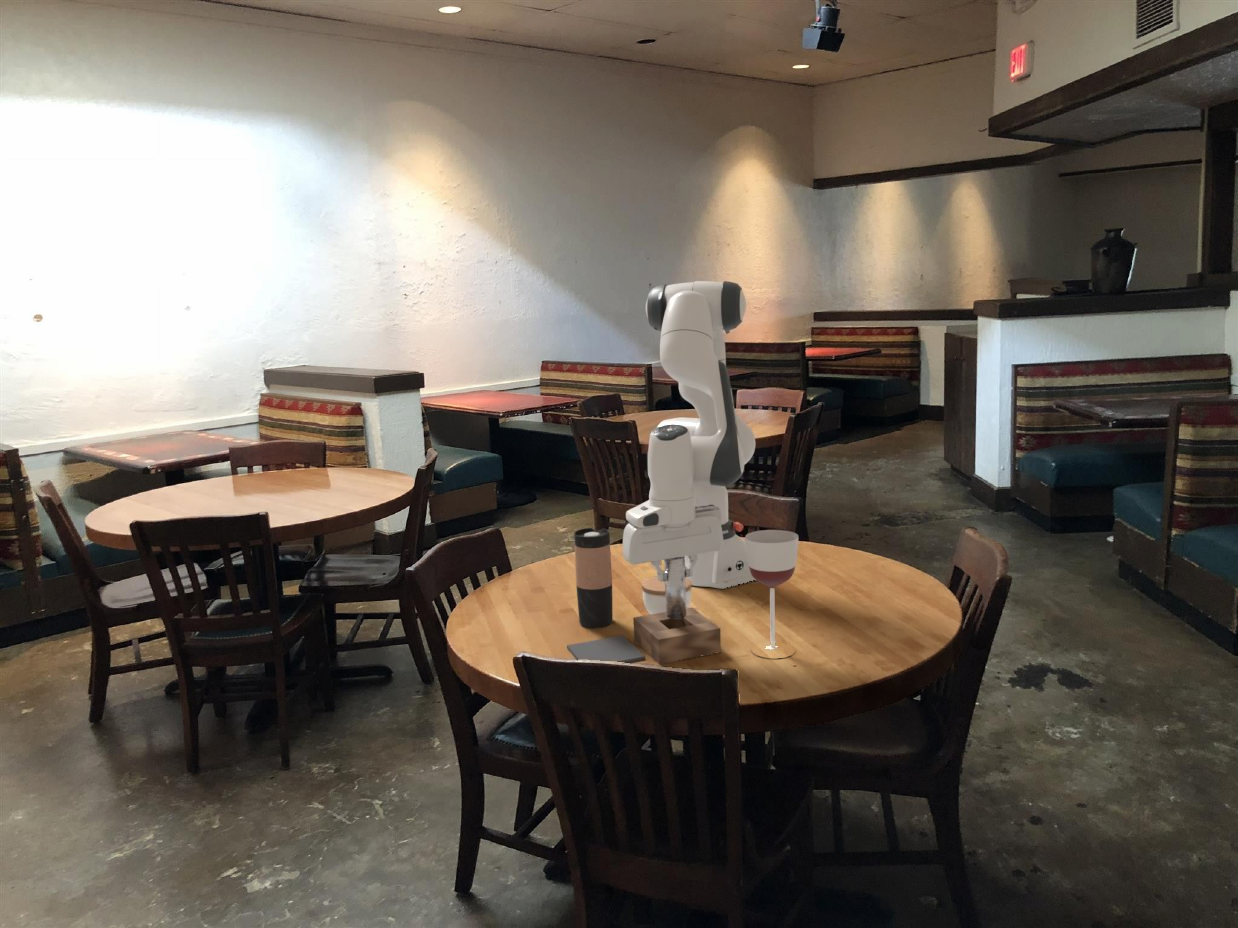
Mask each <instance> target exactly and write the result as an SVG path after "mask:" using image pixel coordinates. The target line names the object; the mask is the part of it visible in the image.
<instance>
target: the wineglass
mask: <svg viewBox="0 0 1238 928" xmlns="http://www.w3.org/2000/svg"><path fill="white" fill-rule="evenodd" d="M744 537H745V539H744V540H745V543H746V554H747V560H748V564H749V569H750V572H751V575H752V576H753V578H755V579H756V580H755V581H756V582H758V583H760V584H762V585H765V586H766V587H768V588H769V613H770V615H769V617H770V618H769V620H770V621H769V624H770V625H769V626H770V627H769V629H770V630H769V633H770V634H769V635H770V641H769V642H771V645H770V646H766V648H765V649H770V650H771V649H777V647H778V646H775V642H776V621H775V620H776V614H775V612H776V608H775V607H776V606H775V605H776V602H775V601H776V599H775V598H776V597H775V588H776V587H777V586H780V585H782V584H784V583H786V582H788V581H789V580H790V579H791V578H792V577H793V575H794V573H795V570H796V569H795V568H796V564H797V559H798V553H799V552H798V551H799V550H798V549H799V534H797V533H795V532H793V531H790V530H783V529H765V530H763V529H762V530H756V531H752V532H751V531H750V532H749V533H746V535H745V536H744Z"/></svg>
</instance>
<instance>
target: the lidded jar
mask: <svg viewBox="0 0 1238 928" xmlns="http://www.w3.org/2000/svg"><path fill="white" fill-rule="evenodd" d="M685 584H686V608H690V606H691V605H690V604H691V600H692V586H693V585H692V584H691V581H690V580H689V579H687V578H685ZM641 590H642V591H641V592H642V593H641V594H642V601H643V604H644V607H645V609H646V611H647V613H648V614H649V615H651V614H657V613H662V612H666V596H665V581H662V582H660V581H658V579H657V575H656V576H651V577H648V578H646V579H644V580H643V581H642V582H641Z"/></svg>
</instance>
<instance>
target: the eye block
mask: <svg viewBox="0 0 1238 928" xmlns="http://www.w3.org/2000/svg"><path fill="white" fill-rule="evenodd" d="M632 621H633V641H634V642H635V643H636V644H637V645H638V646H639V647H640V648H641V649H642V650H643V651H644V652H645V653H646V654H647V655H648V656H650V658H652V659H653V660H654V661H655V663H657V662H658V663H657V664H658V665H663V664H669V663H673V662H678V661H679V660H680V661H684V660H683V659H685V660H688V659H687V658H690V659H693V658H692V657H695V658H697V657H696V656H700V657H702V656H701V655H706V656H708V655H707V654H711V653H716V652H721V653H722V643H721V641H722V640H721V638H722V637H721V627H719V626H718V625H716V624H715V623H714V622H712V621H711V620H710V619H709V618H708V617H706V616H704V615H703V614H701V613H700V612H699V611H697V609H695V608H694V607H689V608H686V617H684V618H681V619H671V618H668V617H667V616H666V612H662V613H657V614H646V615H640V616H635V617H633V618H632ZM716 654H717V653H716ZM711 655H712V654H711ZM680 661H679V662H680Z"/></svg>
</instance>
